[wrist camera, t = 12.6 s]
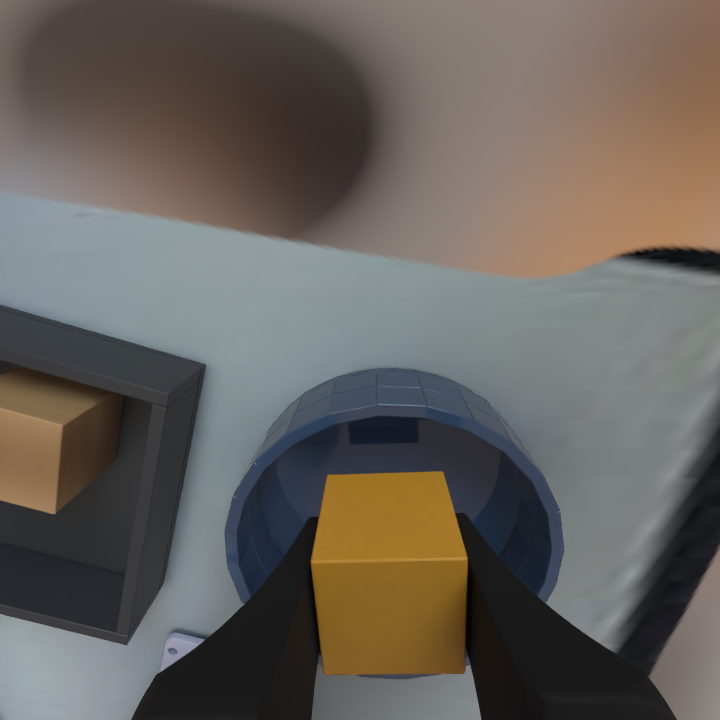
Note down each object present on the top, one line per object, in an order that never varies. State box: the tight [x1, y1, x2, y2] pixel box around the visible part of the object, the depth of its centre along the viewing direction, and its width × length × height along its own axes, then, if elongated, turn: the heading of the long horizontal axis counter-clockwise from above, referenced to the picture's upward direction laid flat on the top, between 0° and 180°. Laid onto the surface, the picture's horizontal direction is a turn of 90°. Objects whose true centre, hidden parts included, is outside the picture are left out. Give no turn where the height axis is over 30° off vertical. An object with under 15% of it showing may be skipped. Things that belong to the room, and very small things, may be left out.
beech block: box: [0, 366, 124, 514], centre depth 17 cm, size 4×4×4 cm
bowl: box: [225, 368, 564, 679], centre depth 19 cm, size 13×13×4 cm
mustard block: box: [310, 471, 468, 675], centre depth 13 cm, size 4×4×4 cm
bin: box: [0, 305, 205, 645], centre depth 19 cm, size 13×10×4 cm
